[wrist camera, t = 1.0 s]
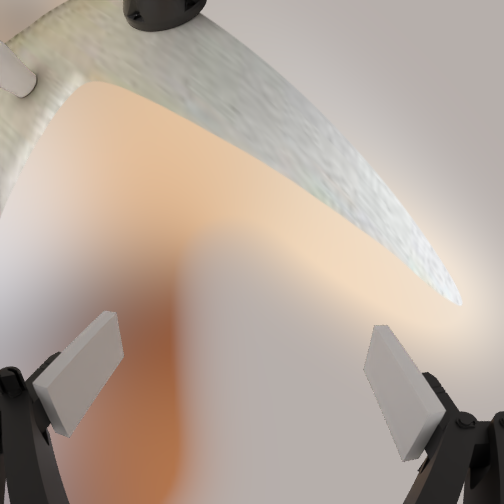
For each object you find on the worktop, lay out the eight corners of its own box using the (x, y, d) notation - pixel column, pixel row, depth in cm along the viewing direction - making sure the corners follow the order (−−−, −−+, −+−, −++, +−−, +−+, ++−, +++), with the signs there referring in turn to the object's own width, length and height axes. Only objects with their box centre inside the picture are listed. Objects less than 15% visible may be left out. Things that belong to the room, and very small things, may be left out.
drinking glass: (26, 105, 39) (-22, 74, 24) (10, 97, 38) (-35, 69, 23) (46, 74, 38) (3, 37, 24) (28, 68, 38) (-13, 35, 23)
